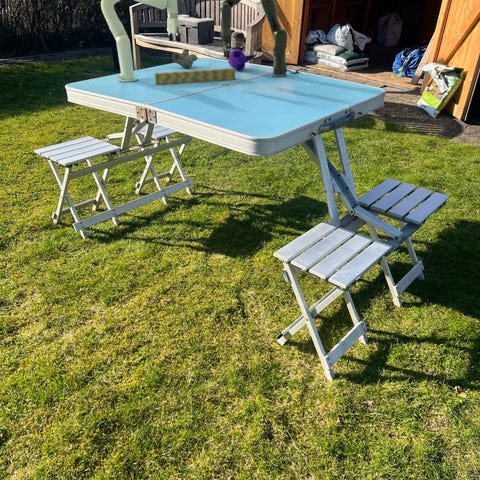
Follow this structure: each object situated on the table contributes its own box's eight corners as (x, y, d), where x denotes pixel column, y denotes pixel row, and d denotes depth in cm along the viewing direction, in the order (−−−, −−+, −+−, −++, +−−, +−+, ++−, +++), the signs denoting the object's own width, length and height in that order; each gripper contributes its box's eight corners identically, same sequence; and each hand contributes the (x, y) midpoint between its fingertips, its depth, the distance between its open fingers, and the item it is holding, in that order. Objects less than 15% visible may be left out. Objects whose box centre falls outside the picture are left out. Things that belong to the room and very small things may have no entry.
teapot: (196, 65, 393) (195, 47, 386) (199, 67, 384) (198, 49, 376) (172, 67, 388) (170, 48, 380) (175, 69, 378) (173, 50, 370)
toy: (240, 72, 359) (228, 71, 382) (259, 65, 362) (246, 64, 386) (234, 52, 351) (222, 52, 375) (253, 45, 354) (241, 45, 378)
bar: (156, 84, 327) (155, 74, 323) (155, 83, 331) (154, 72, 327) (235, 79, 339) (235, 68, 335) (233, 78, 343) (233, 67, 339)
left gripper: (161, 16, 332) (164, 41, 341) (175, 17, 321) (177, 42, 330) (170, 15, 337) (172, 40, 345) (184, 16, 326) (185, 41, 334)
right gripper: (233, 34, 319) (233, 59, 327) (228, 32, 331) (229, 56, 339) (223, 35, 317) (223, 59, 325) (218, 33, 329) (219, 56, 337)
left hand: (175, 41), depth 338 cm, fingers open, 9 cm apart
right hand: (226, 57), depth 332 cm, fingers open, 8 cm apart
